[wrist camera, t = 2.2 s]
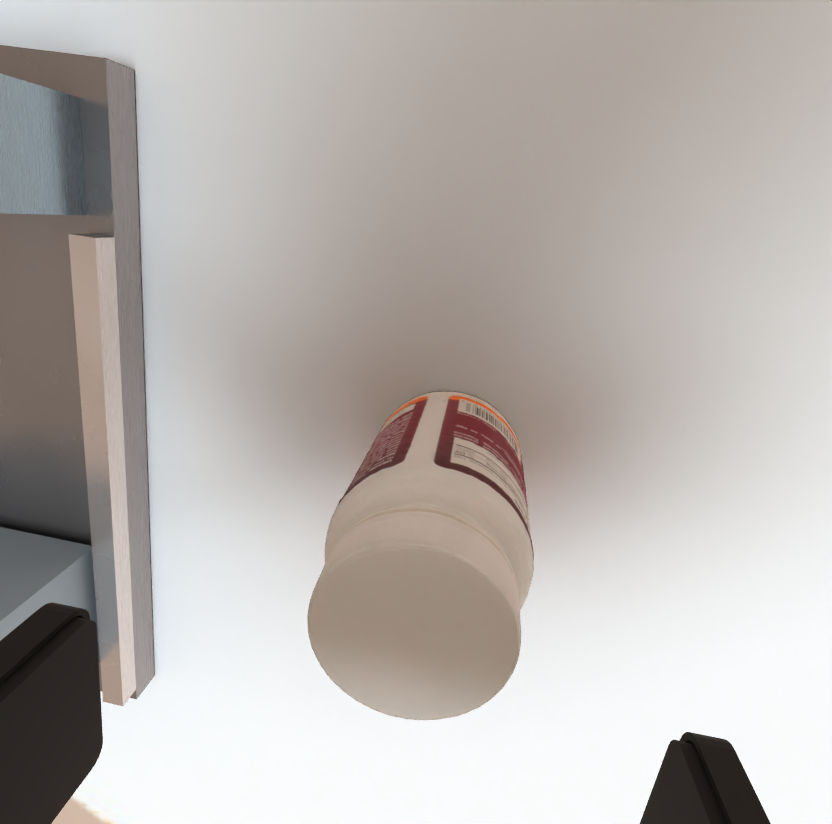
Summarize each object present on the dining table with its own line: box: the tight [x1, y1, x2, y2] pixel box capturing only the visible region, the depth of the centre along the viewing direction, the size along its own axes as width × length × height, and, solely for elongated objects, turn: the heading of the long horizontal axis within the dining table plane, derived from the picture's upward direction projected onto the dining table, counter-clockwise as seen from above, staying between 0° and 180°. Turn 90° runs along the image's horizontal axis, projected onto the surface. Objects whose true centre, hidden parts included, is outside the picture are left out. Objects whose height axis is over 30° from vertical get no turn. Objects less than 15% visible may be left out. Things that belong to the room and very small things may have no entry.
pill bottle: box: [308, 392, 534, 720], centre depth 14 cm, size 5×5×8 cm
